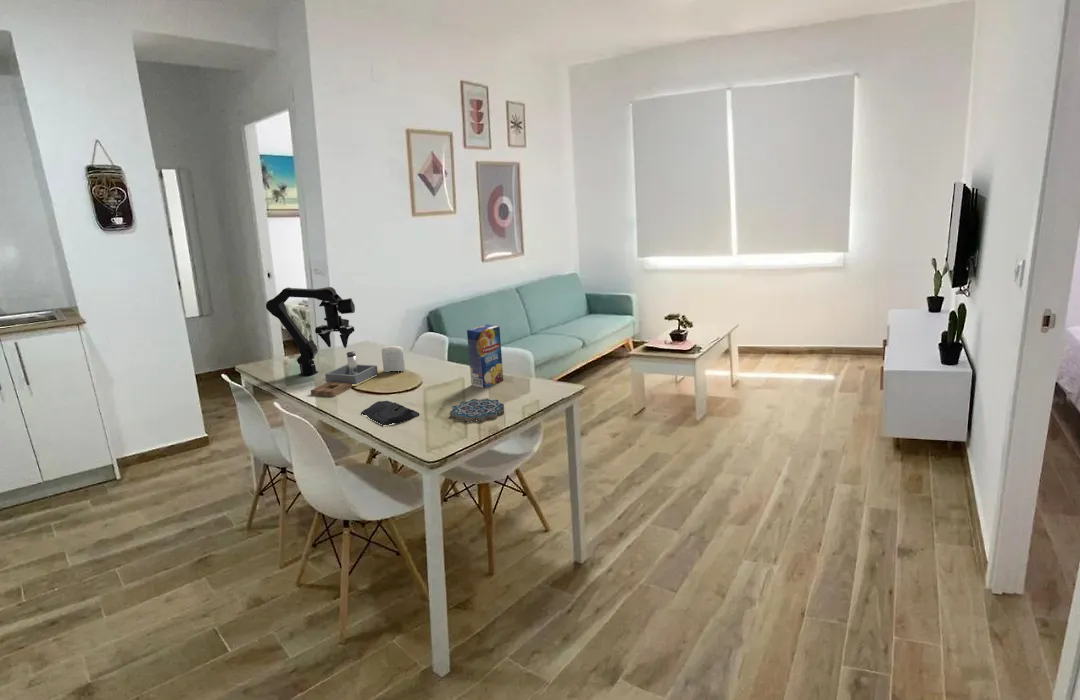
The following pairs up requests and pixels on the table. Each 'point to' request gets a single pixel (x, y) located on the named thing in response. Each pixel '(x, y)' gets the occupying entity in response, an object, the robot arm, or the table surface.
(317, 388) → the bracket
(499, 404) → the decorative tile
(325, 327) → the robot arm
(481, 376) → the juice carton
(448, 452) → the table surface
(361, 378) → the tray
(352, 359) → the clear glass cylinder
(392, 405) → the dark slate chunk
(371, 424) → the table surface
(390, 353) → the photo printer
